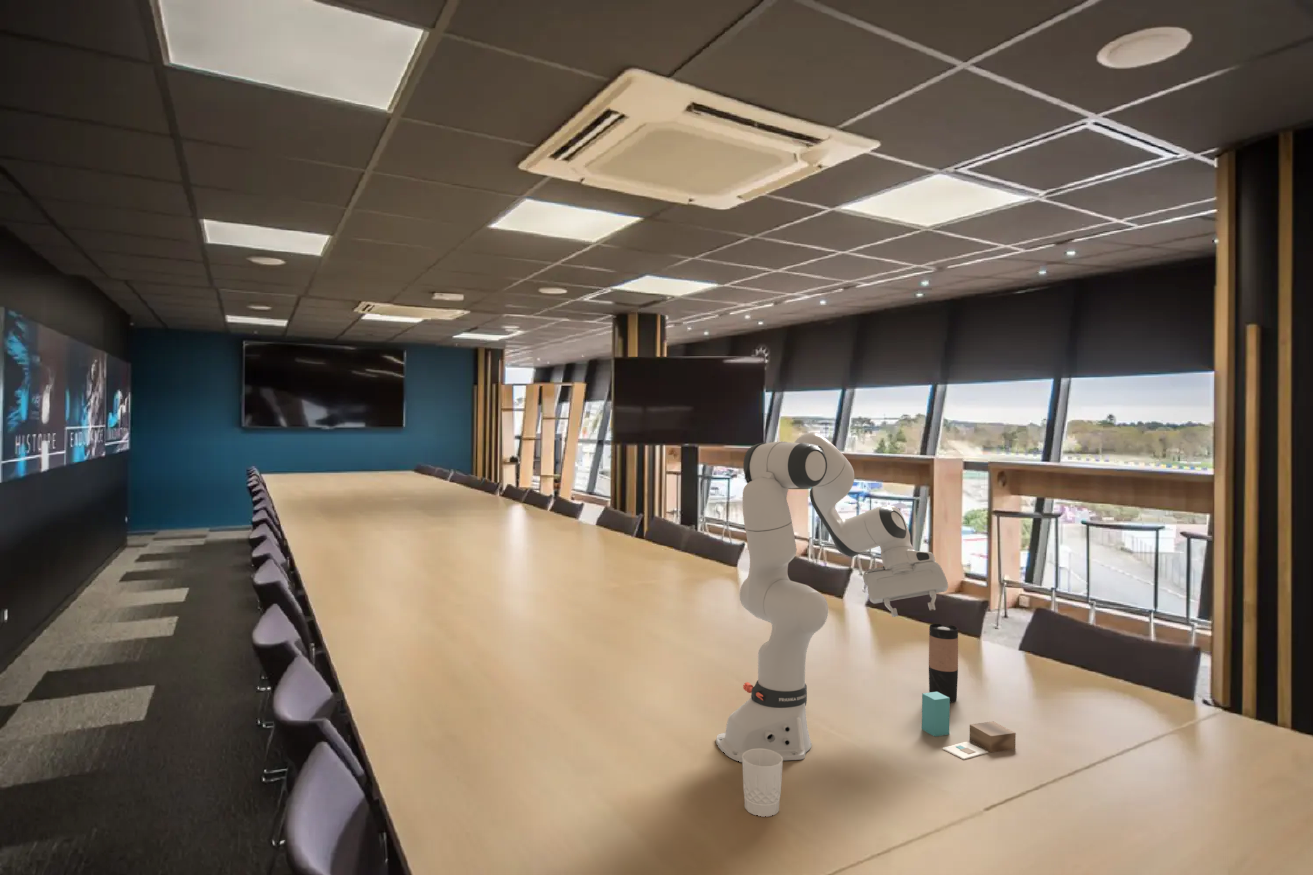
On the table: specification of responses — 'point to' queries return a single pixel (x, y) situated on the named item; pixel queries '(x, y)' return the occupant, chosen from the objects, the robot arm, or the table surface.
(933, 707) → the teal brick
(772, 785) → the white cup
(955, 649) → the travel mug
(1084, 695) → the table surface
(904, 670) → the table surface
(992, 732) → the walnut brick
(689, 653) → the table surface
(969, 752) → the page
